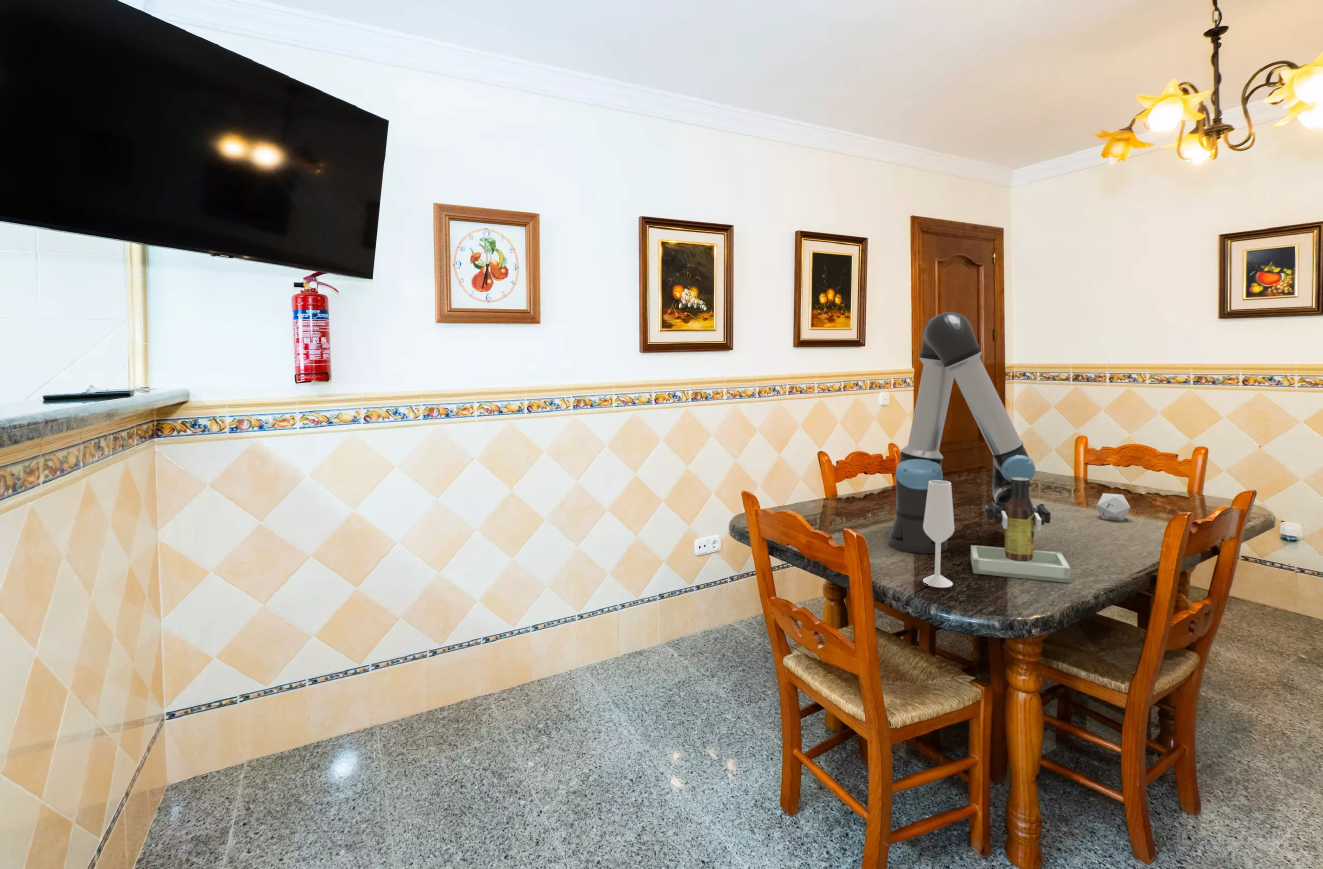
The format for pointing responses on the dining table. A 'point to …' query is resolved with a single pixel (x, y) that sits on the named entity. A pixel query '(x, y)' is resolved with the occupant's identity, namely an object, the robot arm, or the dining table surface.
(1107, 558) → the dining table surface
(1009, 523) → the sauce bottle
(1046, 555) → the tray
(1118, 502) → the die
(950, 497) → the champagne flute
